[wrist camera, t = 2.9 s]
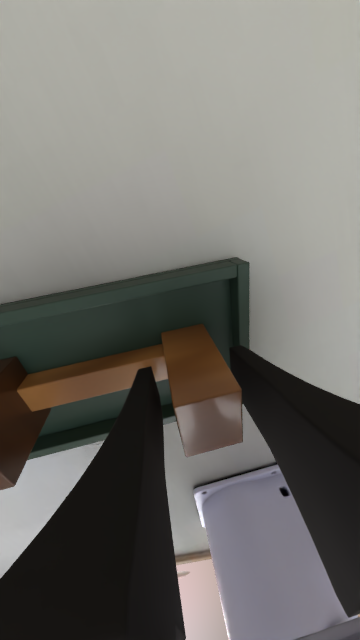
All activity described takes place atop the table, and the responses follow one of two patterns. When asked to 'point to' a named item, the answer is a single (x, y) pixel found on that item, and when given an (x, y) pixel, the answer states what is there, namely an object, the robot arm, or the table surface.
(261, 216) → the table surface
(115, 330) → the brush tray
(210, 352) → the brown barbell-shaped piece
